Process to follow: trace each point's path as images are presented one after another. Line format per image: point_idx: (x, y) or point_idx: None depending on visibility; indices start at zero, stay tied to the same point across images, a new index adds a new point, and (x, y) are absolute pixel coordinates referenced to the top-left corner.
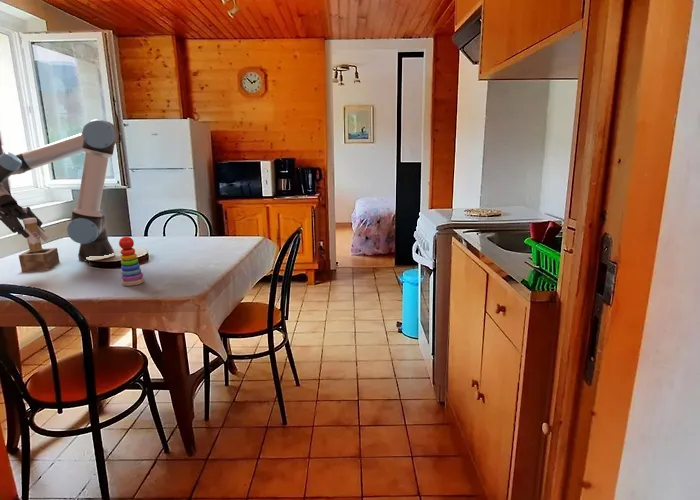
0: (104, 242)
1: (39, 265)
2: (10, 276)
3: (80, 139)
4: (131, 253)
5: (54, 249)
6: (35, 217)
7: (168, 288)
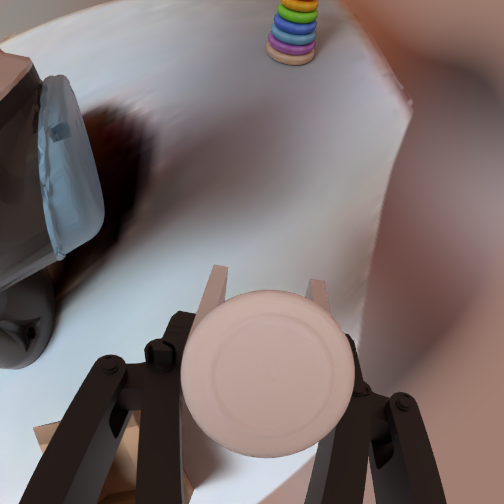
0: None
1: None
2: (267, 477)
3: None
4: None
5: (55, 423)
6: (76, 439)
7: None
